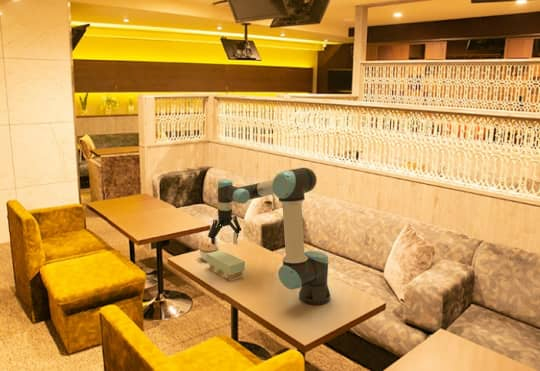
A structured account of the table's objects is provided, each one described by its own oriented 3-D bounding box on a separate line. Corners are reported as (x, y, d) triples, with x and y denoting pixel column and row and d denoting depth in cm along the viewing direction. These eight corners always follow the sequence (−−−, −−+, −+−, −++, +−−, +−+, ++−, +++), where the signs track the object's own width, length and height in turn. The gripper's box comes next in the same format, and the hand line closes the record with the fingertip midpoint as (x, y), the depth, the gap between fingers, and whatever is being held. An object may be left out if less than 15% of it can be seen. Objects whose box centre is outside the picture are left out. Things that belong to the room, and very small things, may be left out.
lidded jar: (210, 264, 263) (210, 249, 261) (196, 260, 268) (195, 245, 266) (222, 258, 272) (221, 243, 270) (207, 255, 277) (207, 240, 275)
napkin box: (242, 277, 247) (242, 263, 245) (230, 281, 242) (230, 266, 240) (221, 265, 262) (221, 252, 260) (209, 269, 257) (209, 255, 255)
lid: (244, 270, 246) (244, 261, 245) (229, 275, 240) (229, 266, 239) (221, 258, 262) (221, 249, 261) (206, 262, 256) (206, 253, 255)
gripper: (239, 203, 254) (239, 239, 259) (201, 211, 239) (201, 249, 244) (248, 206, 249) (247, 243, 254) (208, 214, 233) (209, 254, 238)
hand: (225, 246), depth 249 cm, fingers open, 13 cm apart
